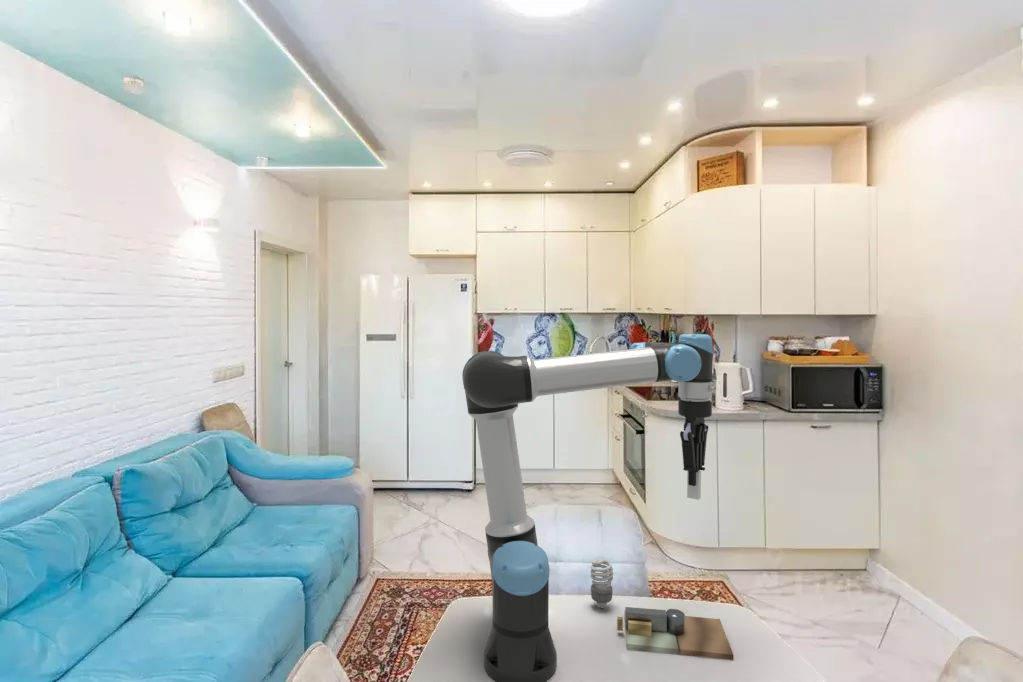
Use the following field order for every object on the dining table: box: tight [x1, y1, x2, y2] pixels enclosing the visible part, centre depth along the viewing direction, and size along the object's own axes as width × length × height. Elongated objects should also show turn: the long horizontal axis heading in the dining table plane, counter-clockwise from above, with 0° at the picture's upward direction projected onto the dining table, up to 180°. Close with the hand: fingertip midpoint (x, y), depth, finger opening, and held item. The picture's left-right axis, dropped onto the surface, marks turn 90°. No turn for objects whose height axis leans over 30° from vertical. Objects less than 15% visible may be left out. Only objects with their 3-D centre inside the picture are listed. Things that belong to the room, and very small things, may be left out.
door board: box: [616, 612, 735, 661], centre depth 122 cm, size 24×14×4 cm, turn 80°
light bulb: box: [590, 559, 614, 609], centre depth 134 cm, size 6×6×12 cm
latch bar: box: [624, 606, 686, 635], centre depth 122 cm, size 13×4×4 cm, turn 81°
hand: (693, 497), depth 128 cm, fingers closed
